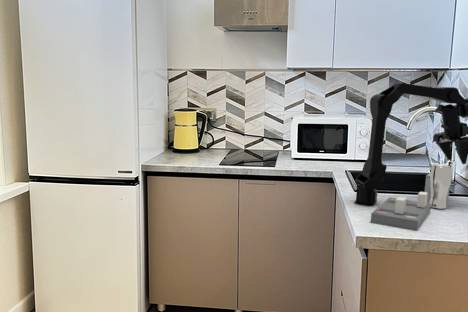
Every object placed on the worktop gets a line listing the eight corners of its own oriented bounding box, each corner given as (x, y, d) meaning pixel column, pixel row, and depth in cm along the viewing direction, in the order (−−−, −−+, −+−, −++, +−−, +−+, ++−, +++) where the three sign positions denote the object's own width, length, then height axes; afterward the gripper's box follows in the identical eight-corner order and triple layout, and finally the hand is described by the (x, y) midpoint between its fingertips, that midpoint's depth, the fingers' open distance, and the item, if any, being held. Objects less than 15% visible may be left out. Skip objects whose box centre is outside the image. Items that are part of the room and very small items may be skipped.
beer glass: (441, 204, 169) (446, 164, 168) (451, 209, 163) (456, 167, 161) (423, 204, 169) (427, 163, 167) (432, 208, 162) (437, 166, 160)
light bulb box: (430, 197, 180) (433, 170, 178) (449, 200, 176) (451, 172, 174) (422, 202, 172) (425, 174, 170) (442, 205, 168) (445, 177, 166)
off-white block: (416, 206, 154) (418, 193, 153) (419, 204, 158) (420, 191, 157) (424, 207, 153) (425, 195, 152) (426, 205, 156) (427, 192, 156)
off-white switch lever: (394, 212, 146) (395, 199, 146) (397, 210, 150) (398, 196, 149) (402, 214, 145) (403, 200, 144) (405, 211, 149) (406, 198, 148)
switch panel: (370, 222, 147) (371, 212, 146) (389, 205, 167) (389, 197, 166) (417, 230, 140) (417, 220, 139) (430, 211, 160) (431, 203, 159)
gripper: (488, 118, 160) (493, 161, 163) (457, 113, 178) (462, 152, 181) (458, 125, 159) (464, 168, 162) (429, 120, 177) (435, 159, 180)
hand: (456, 161), depth 171 cm, fingers open, 9 cm apart
